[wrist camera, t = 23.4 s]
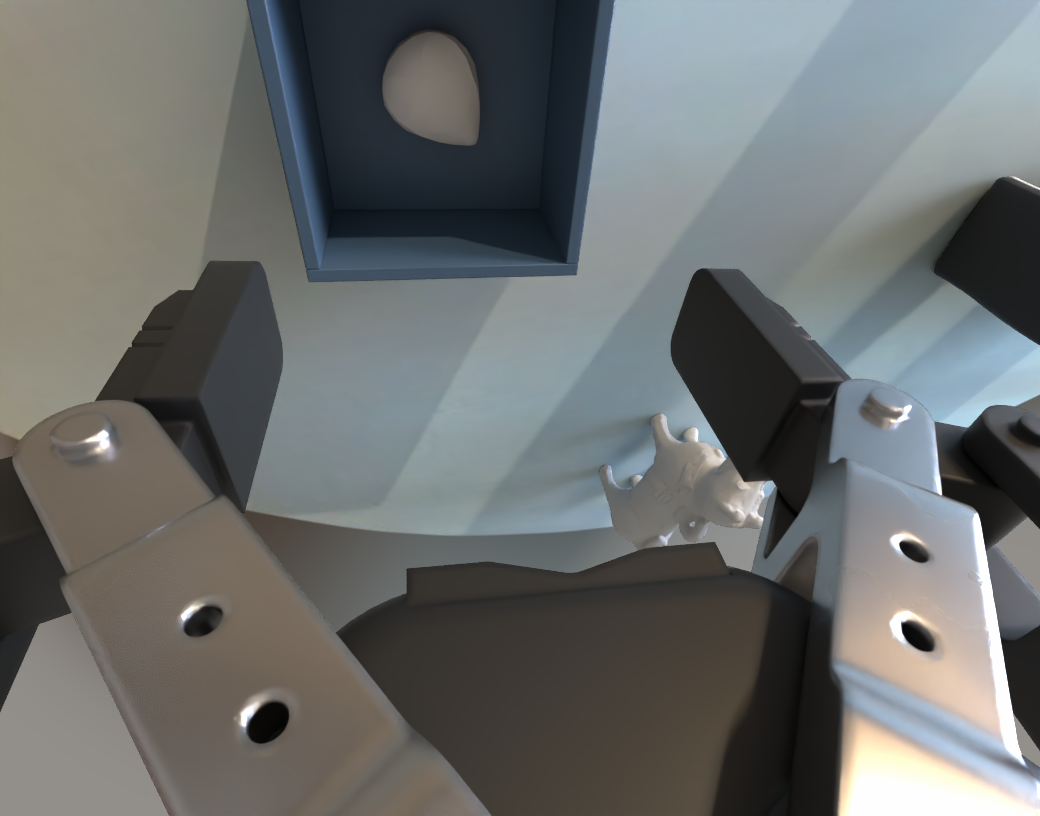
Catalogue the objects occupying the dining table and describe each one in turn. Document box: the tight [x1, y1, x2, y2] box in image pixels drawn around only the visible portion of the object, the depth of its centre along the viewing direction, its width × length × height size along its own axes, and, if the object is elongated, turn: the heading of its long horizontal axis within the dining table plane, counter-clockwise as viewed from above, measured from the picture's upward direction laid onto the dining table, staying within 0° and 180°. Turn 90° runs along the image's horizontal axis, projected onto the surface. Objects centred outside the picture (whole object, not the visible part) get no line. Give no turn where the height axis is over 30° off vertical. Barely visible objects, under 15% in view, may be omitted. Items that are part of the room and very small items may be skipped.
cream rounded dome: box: [382, 29, 480, 146], centre depth 24 cm, size 4×5×2 cm
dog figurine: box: [599, 413, 767, 550], centre depth 41 cm, size 5×13×11 cm, turn 146°
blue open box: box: [246, 0, 615, 282], centre depth 23 cm, size 7×12×12 cm
